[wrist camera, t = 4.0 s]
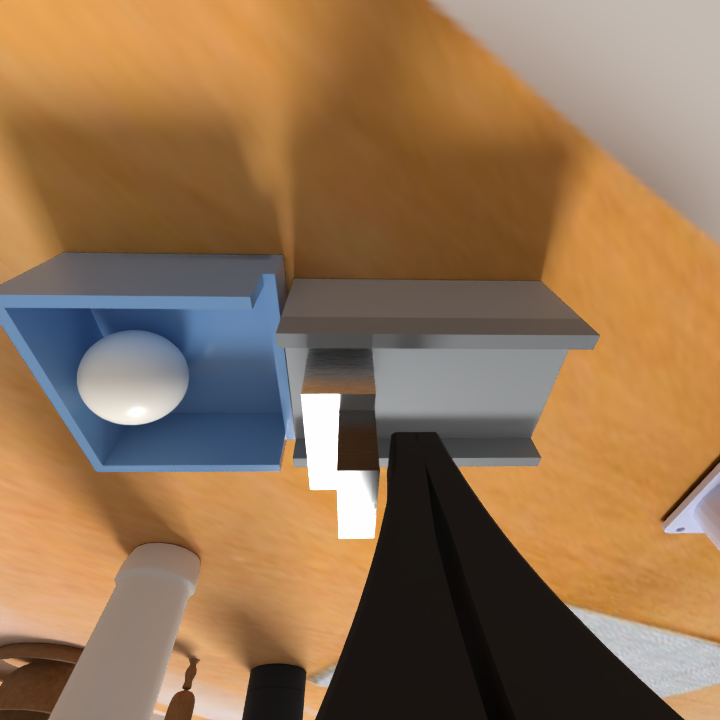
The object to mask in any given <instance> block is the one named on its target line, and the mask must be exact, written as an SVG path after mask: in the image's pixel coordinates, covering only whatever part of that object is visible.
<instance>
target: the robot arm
mask: <svg viewBox="0 0 720 720" xmlns="http://www.w3.org/2000/svg"><path fill="white" fill-rule="evenodd" d="M661 528H662V529H663V530H664V532H666V533H705V534H706V535H707V536H708V537H709V539H710V540H711V541H712V542H713V543H714V545H715V546H716V547H717V548H718V549H719V551H720V462H719V464H718V465H717V466H716V467H715V468H714V469H713V470H712V471H711V472H710V473H709V474H708V475H707V476H706V477H705V479H704V480H703V481H702V482H701V483H700V484H699V485H698V486H697V487H696V488H695V489H694V490H693V491H692V492H691V494H690V495H689V496H688V497H687V498H686V499H685V500H684V501H683V502H682V503H681V504H680V505H679V506H678V507H677V509H676V510H675V511H674V512H673V513H672V514H671V515H670V516H669V517H668V518H667V519H666V520H665V521H664V522H663V524H662V525H661ZM315 720H684V719H683V718H682V717H681V716H680V715H679V714H678V713H676V712H675V711H674V710H673V709H672V708H671V707H670V706H669V705H668V704H666V703H665V702H664V701H663V700H662V699H661V698H660V697H659V696H658V695H657V694H656V693H654V692H653V691H652V690H651V689H650V688H649V687H648V686H647V685H646V684H645V683H644V682H642V681H641V680H640V679H639V678H638V677H637V676H636V675H635V674H634V673H633V672H632V671H631V670H630V669H629V668H628V667H627V666H626V665H625V664H624V663H623V662H622V661H621V660H619V659H618V658H617V657H616V656H615V655H614V654H613V653H612V652H611V651H610V650H609V649H608V648H607V647H606V646H605V645H604V644H603V643H602V642H601V641H600V640H599V639H598V638H597V637H596V636H595V635H594V634H593V633H592V632H591V631H590V630H589V629H588V628H587V627H586V626H585V625H584V624H583V622H582V621H581V620H580V619H579V618H578V617H577V616H576V615H575V614H574V613H573V612H572V611H571V610H570V609H569V608H568V607H567V606H566V605H565V604H564V603H563V602H562V601H561V600H560V599H559V598H558V597H557V595H556V594H555V593H554V592H553V591H552V590H551V589H550V588H549V587H548V585H547V584H546V583H545V582H544V581H543V580H542V579H541V578H540V577H539V575H538V574H537V573H536V572H535V571H534V570H533V568H532V567H531V566H530V565H529V564H528V563H527V561H526V560H525V559H524V558H523V557H522V556H521V554H520V553H519V552H518V551H517V549H516V548H515V547H514V546H513V544H512V543H511V542H510V541H509V539H508V538H507V537H506V536H505V534H504V533H503V532H502V530H501V529H500V528H499V526H498V525H497V524H496V523H495V521H494V520H493V519H492V517H491V516H490V514H489V513H488V512H487V510H486V509H485V508H484V506H483V505H482V503H481V502H480V500H479V499H478V497H477V496H476V495H475V493H474V492H473V490H472V489H471V487H470V486H469V484H468V483H467V481H466V480H465V478H464V477H463V475H462V474H461V472H460V470H459V469H458V467H457V466H456V464H455V462H454V461H453V459H452V457H451V456H450V454H449V452H448V451H447V449H446V447H445V445H444V444H443V442H442V440H441V438H440V436H439V435H438V434H437V433H436V432H395V433H393V434H392V435H391V440H390V450H389V460H388V469H387V504H386V508H385V513H384V517H383V522H382V526H381V531H380V535H379V539H378V543H377V546H376V550H375V554H374V557H373V561H372V564H371V568H370V571H369V574H368V578H367V581H366V584H365V587H364V590H363V593H362V596H361V599H360V603H359V606H358V609H357V611H356V614H355V617H354V620H353V623H352V626H351V629H350V631H349V634H348V637H347V639H346V642H345V645H344V648H343V650H342V653H341V656H340V658H339V661H338V664H337V666H336V669H335V672H334V674H333V677H332V680H331V682H330V685H329V687H328V690H327V692H326V694H325V697H324V699H323V702H322V704H321V707H320V709H319V712H318V714H317V716H316V719H315Z"/></svg>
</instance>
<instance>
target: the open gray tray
mask: <svg viewBox="0 0 720 720" xmlns="http://www.w3.org/2000/svg"><path fill="white" fill-rule="evenodd" d="M599 337H600V335H599V334H598V333H597V332H596V331H595V330H594V329H593V328H591V327H590V326H589V325H588V324H587V323H586V322H585V321H584V320H583V319H582V318H581V317H580V316H578V315H577V314H576V313H575V312H574V311H573V310H572V309H571V308H570V307H569V306H568V305H567V304H565V303H564V302H563V301H562V300H561V299H560V298H559V297H558V296H557V295H556V294H555V293H554V292H552V291H551V290H550V289H549V288H548V287H547V286H546V285H545V284H544V283H543V282H542V281H486V280H390V279H293V282H292V286H291V289H290V292H289V295H288V298H287V301H286V304H285V307H284V310H283V313H282V316H281V319H280V322H279V325H278V328H277V331H276V340H277V347H278V348H285V352H286V360H287V368H288V376H289V384H290V392H291V401H292V409H293V417H294V425H295V433H296V442H295V449H294V455H293V463H294V467H308V459H307V449H306V439H305V429H304V419H303V409H302V400H301V391H302V385H303V379H304V373H305V368H306V362H307V356H308V350H309V348H372V354H373V365H374V377H375V388H376V403H375V417H376V429H377V442H378V455H379V467H388V460H389V450H390V440H391V435H392V434H393V433H395V432H436V433H437V434H438V435H439V436H440V438H441V440H442V442H443V444H444V445H445V447H446V449H447V451H448V452H449V454H450V456H451V457H452V459H453V461H454V462H455V464H456V466H538V464H539V461H540V459H541V456H540V454H539V453H538V451H537V449H536V447H535V445H534V443H533V441H532V440H531V436H532V434H533V431H534V429H535V427H536V424H537V422H538V420H539V417H540V415H541V413H542V411H543V408H544V406H545V404H546V401H547V399H548V397H549V394H550V392H551V390H552V387H553V385H554V383H555V380H556V378H557V376H558V374H559V371H560V369H561V367H562V364H563V362H564V360H565V357H566V355H567V353H568V350H569V349H583V350H593V349H594V347H595V345H596V343H597V341H598V339H599Z"/></svg>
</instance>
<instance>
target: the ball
mask: <svg viewBox="0 0 720 720" xmlns="http://www.w3.org/2000/svg"><path fill="white" fill-rule="evenodd" d="M188 382H189V370H188V366H187V362H186V360H185V358H184V356H183V354H182V353H181V351H180V350H179V349H178V348H177V347H176V346H175V345H174V344H173V343H172V342H170V341H169V340H168V339H166V338H164V337H162V336H160V335H158V334H155V333H152V332H148V331H142V330H127V331H121V332H117V333H113V334H111V335H108V336H106V337H104V338H102V339H101V340H99V341H97V342H96V343H95V344H94V345H93V346H91V347H90V348H89V350H88V351H87V352H86V353H85V355H84V356H83V358H82V360H81V362H80V364H79V367H78V371H77V386H78V391H79V393H80V396H81V398H82V400H83V401H84V403H85V404H86V405H87V407H88V408H89V409H90V410H91V411H93V412H94V413H95V414H96V415H98V416H99V417H101V418H103V419H105V420H107V421H110V422H113V423H117V424H123V425H140V424H146V423H150V422H153V421H155V420H158V419H160V418H162V417H164V416H166V415H167V414H168V413H170V412H171V411H172V410H173V409H174V408H176V407H177V405H178V404H179V403H180V402H181V400H182V399H183V397H184V395H185V393H186V390H187V387H188Z"/></svg>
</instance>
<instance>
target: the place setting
mask: <svg viewBox="0 0 720 720" xmlns="http://www.w3.org/2000/svg"><path fill="white" fill-rule="evenodd" d="M82 652H83V649H79V648H75V647H70V646H64V645H56V644H46V643H19V644H11V645H6V646H2V647H0V682H3V683H2V684H1V686H0V720H48V719H49V717H50V715H51V713H52V711H53V709H54V707H55V705H56V703H57V701H58V699H59V697H60V695H61V693H62V691H63V689H64V687H65V685H66V684H67V682H68V680H69V678H70V676H71V674H72V672H73V670H74V668H75V666H76V664H77V662H78V660H79V658H80V656H81V654H82ZM9 658H35V659H34V660H33V661H32V662H31V663H30V664H27V665H24V666H22V667H20V668H18V667H15V666H12V665H10V664H8V663H6V662H5V661H3V660H2V659H9ZM189 661H190V666H189V667H188V669H187V670H186V673H185V683H184V685H183V687H182V688H183V689H185V690H184V691H180V692H178V693H176V694H175V695H174V697H173V698H172V700H171V702H170V704H169V707H168V710H167V713H166V716H165V720H191V717H192V713H193V709H194V703H195V697H194V695H193V693H192V692H190V691H188V690H189V689H191V685H192V681H193V679H194V677H195V675H196V664H197V663H198V662H199V661H200V660H199V659H196V658H192V659H189Z"/></svg>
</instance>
